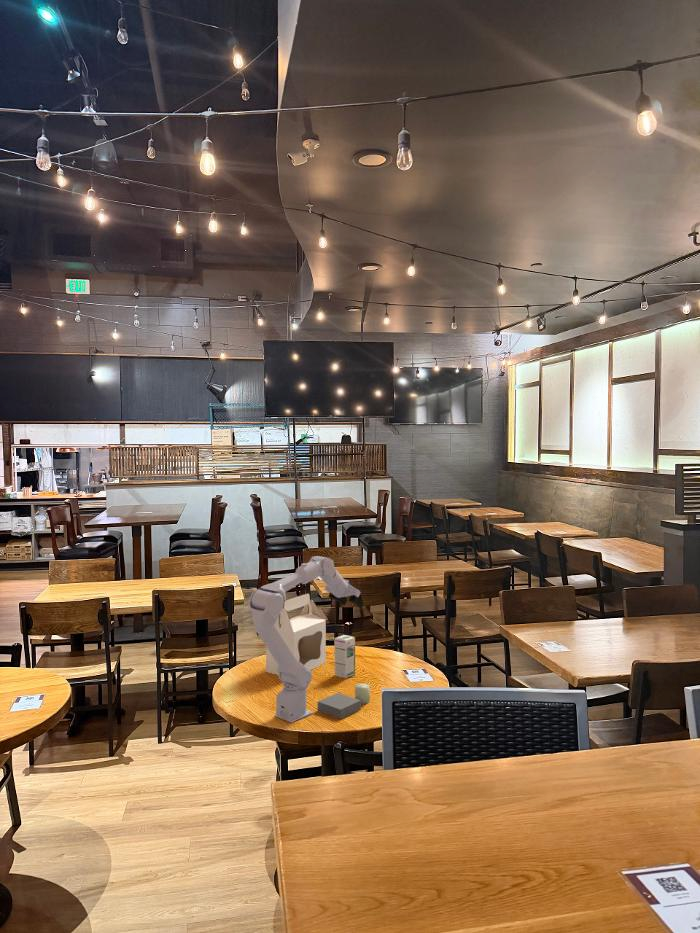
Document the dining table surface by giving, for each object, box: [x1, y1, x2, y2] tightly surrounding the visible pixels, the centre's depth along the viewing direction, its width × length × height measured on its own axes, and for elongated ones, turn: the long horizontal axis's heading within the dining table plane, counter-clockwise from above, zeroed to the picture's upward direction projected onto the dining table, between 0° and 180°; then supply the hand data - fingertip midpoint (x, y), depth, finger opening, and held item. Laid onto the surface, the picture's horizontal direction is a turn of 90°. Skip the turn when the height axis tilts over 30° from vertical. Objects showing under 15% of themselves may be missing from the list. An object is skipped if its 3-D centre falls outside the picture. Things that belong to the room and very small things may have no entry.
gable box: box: [265, 593, 327, 676], centre depth 242 cm, size 22×13×28 cm, turn 148°
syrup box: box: [333, 634, 356, 679], centre depth 234 cm, size 6×6×14 cm
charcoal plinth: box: [317, 692, 362, 720], centre depth 201 cm, size 10×10×3 cm
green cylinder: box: [354, 683, 371, 705], centre depth 209 cm, size 5×5×5 cm
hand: (353, 604), depth 218 cm, fingers open, 7 cm apart
